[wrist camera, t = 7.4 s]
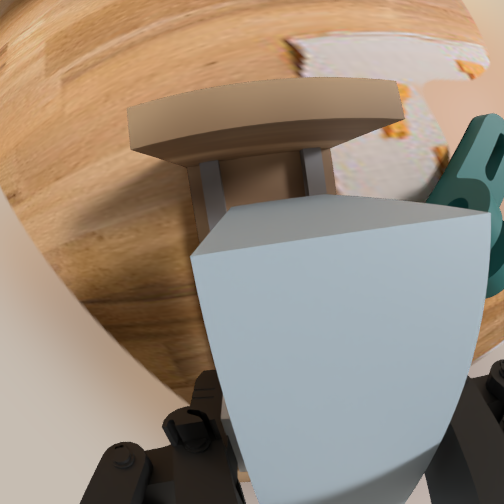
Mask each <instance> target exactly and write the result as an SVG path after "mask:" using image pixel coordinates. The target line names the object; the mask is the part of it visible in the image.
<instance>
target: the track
mask: <svg viewBox="0 0 504 504" xmlns="http://www.w3.org/2000/svg"><path fill="white" fill-rule="evenodd" d="M127 117H128V129H129V139H130V148H131V150H133V151H136V152H140V153H143V154H146V155H150V156H153V157H156V158H159V159H162V160H166V161H169V162H172V163H175V164H178V165H181V166H184V167H187V171H188V178H189V184H190V191H191V197H192V203H193V209H194V215H195V221H196V227H197V232H198V238H199V243H200V244H201V242H202V241H203V240H204V239H205V238H206V236H207V235H208V234H209V233H210V232H211V230H212V229H213V228H214V227H215V226H216V224H217V223H218V222H219V221H220V220H221V219H222V217H223V216H224V215H225V214H226V213H227V212H228V210H229V209H230V208H231V207H234V206H240V205H247V204H254V203H261V202H268V201H275V200H282V199H290V198H298V197H306V196H314V195H323V194H330V195H336V187H335V179H334V172H333V165H332V158H331V151H330V148H332V147H335V146H337V145H339V144H342V143H344V142H347V141H349V140H351V139H354V138H356V137H359V136H361V135H364V134H366V133H369V132H372V131H374V130H377V129H379V128H382V127H385V126H387V125H390V124H393V123H395V122H398V121H401V120H403V119H405V118H404V113H403V108H402V104H401V99H400V95H399V91H398V87H397V83H396V81H391V80H380V79H367V78H345V77H309V78H287V79H273V80H262V81H253V82H244V83H237V84H230V85H223V86H217V87H211V88H206V89H201V90H196V91H191V92H186V93H181V94H177V95H173V96H169V97H165V98H161V99H157V100H153V101H150V102H146V103H142V104H139V105H136V106H132V107H129V108H127ZM238 480H239V482H251V480H250V477H249V474H248V472H240V471H239V468H238Z"/></svg>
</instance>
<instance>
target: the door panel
mask: <svg viewBox="0 0 504 504" xmlns="http://www.w3.org/2000/svg"><path fill="white" fill-rule="evenodd" d="M490 243H491V213H489V212H483V211H477V210H471V209H464V208H458V207H451V206H443V205H436V204H428V203H420V202H411V201H402V200H392V199H382V198H371V197H359V196H345V195H330V194H323V195H314V196H306V197H298V198H290V199H282V200H275V201H268V202H261V203H254V204H247V205H240V206H234V207H231V208H230V209H229V210H228V212H227V213H226V214H225V215H224V216H223V217H222V219H221V220H220V221H219V222H218V223H217V224H216V226H215V227H214V228H213V229H212V230H211V232H210V233H209V234H208V235H207V236H206V238H205V239H204V240H203V241H202V242H201V244H200V245H199V246H198V247H197V248H196V250H195V251H194V252H193V253H192V255H191V256H190V258H191V263H192V268H193V273H194V278H195V283H196V288H197V292H198V297H199V301H200V306H201V310H202V314H203V319H204V323H205V327H206V331H207V335H208V340H209V344H210V348H211V351H212V355H213V359H214V363H215V367H216V371H217V374H218V378H219V382H220V385H221V389H222V392H223V396H224V399H225V403H226V406H227V410H228V413H229V416H230V419H231V423H232V426H233V429H234V432H235V436H236V439H237V442H238V445H239V448H240V451H241V454H242V457H243V460H244V463H245V466H246V469H247V472H248V474H249V477H250V480H251V483H252V486H253V488H254V491H255V494H256V496H257V499H258V502H259V504H405V502H406V501H407V499H408V498H409V496H410V495H411V493H412V492H413V490H414V489H415V487H416V485H417V484H418V482H419V480H420V479H421V477H422V475H423V474H424V472H425V471H426V469H427V467H428V465H429V464H430V462H431V460H432V458H433V456H434V454H435V452H436V451H437V449H438V447H439V445H440V443H441V441H442V438H443V436H444V434H445V432H446V430H447V428H448V425H449V423H450V421H451V418H452V416H453V414H454V411H455V409H456V406H457V404H458V401H459V398H460V396H461V393H462V390H463V387H464V384H465V381H466V378H467V375H468V372H469V368H470V365H471V362H472V358H473V354H474V351H475V347H476V343H477V339H478V334H479V330H480V325H481V320H482V315H483V309H484V303H485V296H486V289H487V281H488V272H489V260H490Z"/></svg>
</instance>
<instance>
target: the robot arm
mask: <svg viewBox="0 0 504 504" xmlns="http://www.w3.org/2000/svg"><path fill="white" fill-rule="evenodd" d="M162 428H163V430H164V432H165V433H166V436H167V437H168V439H169V441H170V443H171V445H169V446H165V447H162V448H158V449H152V450H147V451H144V450H143V449H142V448H141V447H140V446H139V445H138V444H135V443H132V442H120V443H117V444H114V445H113V446H111V447H109V448H108V449H107V450H106V451H105V453H104V454H103V456H102V458H101V460H100V462H99V464H98V466H97V468H96V470H95V472H94V475H93V476H92V478H91V480H90V483H89V485H88V487H87V489H86V491H85V493H84V495H83V498H82V500H81V502H80V504H246V502H245V499H244V495H243V492H242V488H241V485H240V482H239V480H238V468H239V471H240V472H247V469H246V466H245V463H244V460H243V457H242V454H241V451H240V448H239V445H238V442H237V439H236V436H235V432H234V429H233V426H232V423H231V419H230V416H229V413H228V410H227V406H226V403H225V399H224V396H223V392H222V389H221V385H220V382H219V378H218V374H217V371H216V370H207V371H203V372H202V373H201V374H200V376H199V377H198V378H197V379H196V382H195V386H194V391H193V395H192V400H191V404H190V406H187V407H183V408H180V409H177V410H175V411H173V412H172V413H170V414H169V415H168V416H167V417H166V419H165V420H164V422H163V425H162ZM424 473H425V477H426V480H427V485H428V489H429V494H430V498H431V503H432V504H504V360H499V361H497V362H495V363H494V364H493V365H492V367H491V370H490V373H489V375H485V376H481V377H476V378H470V377H469V376H468V375H467V378H466V381H465V384H464V387H463V390H462V393H461V396H460V398H459V401H458V404H457V406H456V409H455V411H454V414H453V416H452V418H451V421H450V423H449V425H448V428H447V430H446V432H445V434H444V436H443V438H442V441H441V443H440V445H439V447H438V449H437V451H436V452H435V454H434V456H433V458H432V460H431V462H430V464H429V465H428V467H427V469H426V471H425V472H424Z"/></svg>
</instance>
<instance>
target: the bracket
mask: <svg viewBox="0 0 504 504" xmlns="http://www.w3.org/2000/svg"><path fill="white" fill-rule="evenodd" d="M503 198H504V120H503V119H502V118H501V117H500V116H499V115H497V114H486V115H481V116H477V117H474V118H473V119H472V120H471V122H470V123H469V125H468V127H467V129H466V131H465V133H464V135H463V137H462V139H461V141H460V143H459V144H458V146H457V148H456V150H455V152H454V154H453V155H452V157H451V159H450V163H449V165H448V166H447V168H446V170H445V171H444V173H443V175H442V177H441V178H440V180H439V182H438V183H437V185H436V186H435V188H434V190H433V191H432V193H431V194H430V196H429V198H428V199H427V201H426V202H425V203H428V204H436V205H443V206H451V207H458V208H464V209H471V210H477V211H483V212H489V213H491V243H490V260H489V272H488V281H487V289H486V296H485V299H486V298H489V297H492V296H494V295H496V294H498V293H499V292H501V291H502V290H503V289H504V221H503V220H502V214H501V211H500V208H499V207H500V205H501V203H502V200H503Z"/></svg>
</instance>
